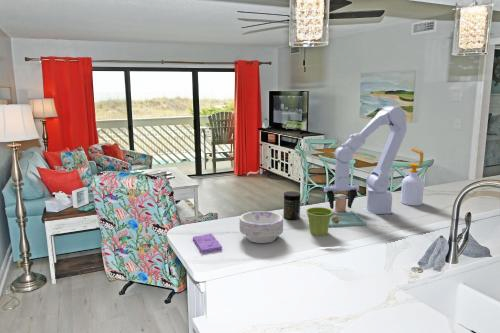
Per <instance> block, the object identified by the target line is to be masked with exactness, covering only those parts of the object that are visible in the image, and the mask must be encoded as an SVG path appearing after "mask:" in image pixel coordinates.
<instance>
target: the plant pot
mask: <svg viewBox="0 0 500 333" xmlns="http://www.w3.org/2000/svg"><path fill="white" fill-rule="evenodd" d="M305 213H306V214H307V218H308V226H309V233H310V234H311V235H312V236H316V237H323V236H327V235H328V233H329V222H330V218H331V215H332V214H333V213H334V211H333V209H331V208H327V207H322V206H321V207H319V206H315V207H309V208H307V209H306V210H305Z"/></svg>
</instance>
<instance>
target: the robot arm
mask: <svg viewBox="0 0 500 333" xmlns="http://www.w3.org/2000/svg"><path fill="white" fill-rule="evenodd" d="M407 117H408V115H407V113H406V111H405V110H404V108H402V107H400V106H394V105H393V106H392V105H385V106H384V107H382V109H381V110H378V112H377V113H376V115H375V116H374V117H373V118H371V120H370V121H369V122H368V123H367V124H366V125H365V127H363V129H361V131H360V132H355V133H354V134H352V133H351V134H350V135H349V137H348V139H347V140H346V141H345V142H344V143H342V144H341V146H339V147H337V148H336V149H335V150H334V152H333V156H334V158H335V165H334V166H335V168H334V184H333V185H329V186H328V185H327V186H323V192H324V193H325V194H326V196H327V199H328V203H329V209H330V210H333V209H334V208H335V204H334V202H335V195H336V194H335V193H334V192H347V208H349V209H351V208H352V205H353V203H354V201H355V199H356V197H357V195H358V192H359V191H360V186H359V185H356V184H354V185H353V184H350V168H351V166H350V163H351V162H350V161H352V159H353V157H354V156H353V155H354V154H355V153H356V152H358V151H359V149H361V148H362V147H363V145H365V144H366V139H367V138H368V137H369V136H371V134H373V133H374V132H375V131H376V130H377V129H379V128H380V126H385V125H388V127H389V129H390V130H391V132H390V133H389V136H388V138H387V141H386V143H385V145H384V148H383V150H382V152H381V155H380V158H379V160H378V162H377V165H376V166H375V167H373V169H372V171H371V172H370V174H368V175H367V177H366V181H365V182H366V184H367V186H368V188H367V196H366V197H367V198H366V199H367V200H366V207H365V206H364V207H362V208H363V209H364V210H365V211H367V212H368V213H369V214H375V215H383V214H385V215H387V214H393V211H392V207H393V205H392V204H393V195H392V192H391V190H389V187H390V179H391V173H390V171H391V168H392V166H393V164H394V162H395V159H396V156H397V155H398V152H399V150H400V147H401V144H402V143H403V140H404V138H405V135H406V133H407V131H408V130H407Z"/></svg>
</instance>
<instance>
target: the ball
mask: <svg viewBox="0 0 500 333" xmlns="http://www.w3.org/2000/svg"><path fill="white" fill-rule="evenodd" d="M331 220H332V222H333V223H339V221H340V218H339V216H337V215H334V216H332V218H331Z"/></svg>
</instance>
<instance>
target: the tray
mask: <svg viewBox="0 0 500 333" xmlns="http://www.w3.org/2000/svg"><path fill="white" fill-rule="evenodd" d="M334 215H337V216H339V218H340V221H339V223H333V222H332V220H331V218H332V216H334ZM331 218H330V222H329V227H330V228H331V227H332V228H333V227H347V226H348V227H351V226H352V227H353V226H366V225H367V222H366V221H365V220H364V219H363V218H362V217H361V216H360V215H358V214H357V213H356V212H355V211H354V212H353V211H351V212H348V211H347V212H343V213H340V212H333V214H332V215H331Z"/></svg>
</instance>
